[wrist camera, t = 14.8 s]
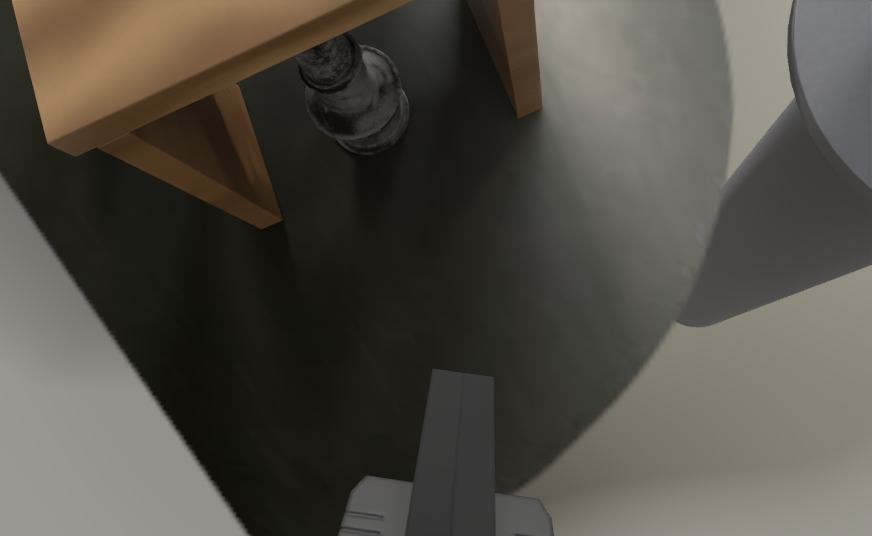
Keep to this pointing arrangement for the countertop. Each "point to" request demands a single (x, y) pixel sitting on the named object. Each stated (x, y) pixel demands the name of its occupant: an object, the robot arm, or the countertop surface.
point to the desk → (208, 79)
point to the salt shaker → (354, 94)
